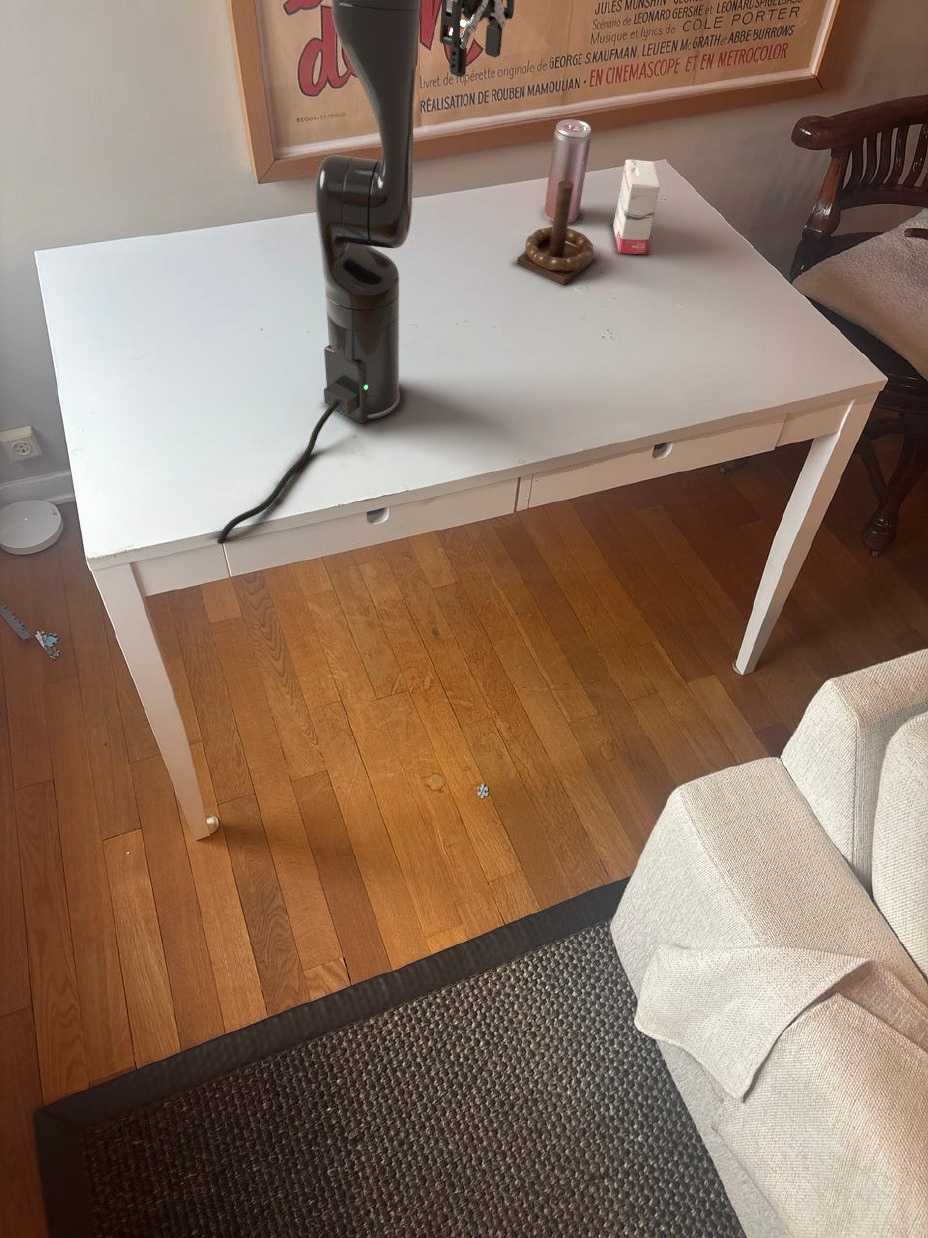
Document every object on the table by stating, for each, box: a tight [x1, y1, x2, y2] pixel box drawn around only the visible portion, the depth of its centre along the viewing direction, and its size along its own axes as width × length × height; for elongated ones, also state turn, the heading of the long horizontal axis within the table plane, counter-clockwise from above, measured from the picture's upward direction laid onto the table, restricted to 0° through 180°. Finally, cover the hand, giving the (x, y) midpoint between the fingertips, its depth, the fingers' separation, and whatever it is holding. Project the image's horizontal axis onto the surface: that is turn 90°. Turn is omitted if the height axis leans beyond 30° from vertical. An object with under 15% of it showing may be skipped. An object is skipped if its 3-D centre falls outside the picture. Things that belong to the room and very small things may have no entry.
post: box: [516, 181, 594, 285], centre depth 152 cm, size 9×9×13 cm
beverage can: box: [544, 118, 592, 224], centre depth 160 cm, size 6×6×15 cm
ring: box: [524, 226, 594, 272], centre depth 156 cm, size 11×11×2 cm
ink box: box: [612, 159, 661, 255], centre depth 158 cm, size 9×5×12 cm, turn 0°
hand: (475, 64), depth 136 cm, fingers open, 8 cm apart
